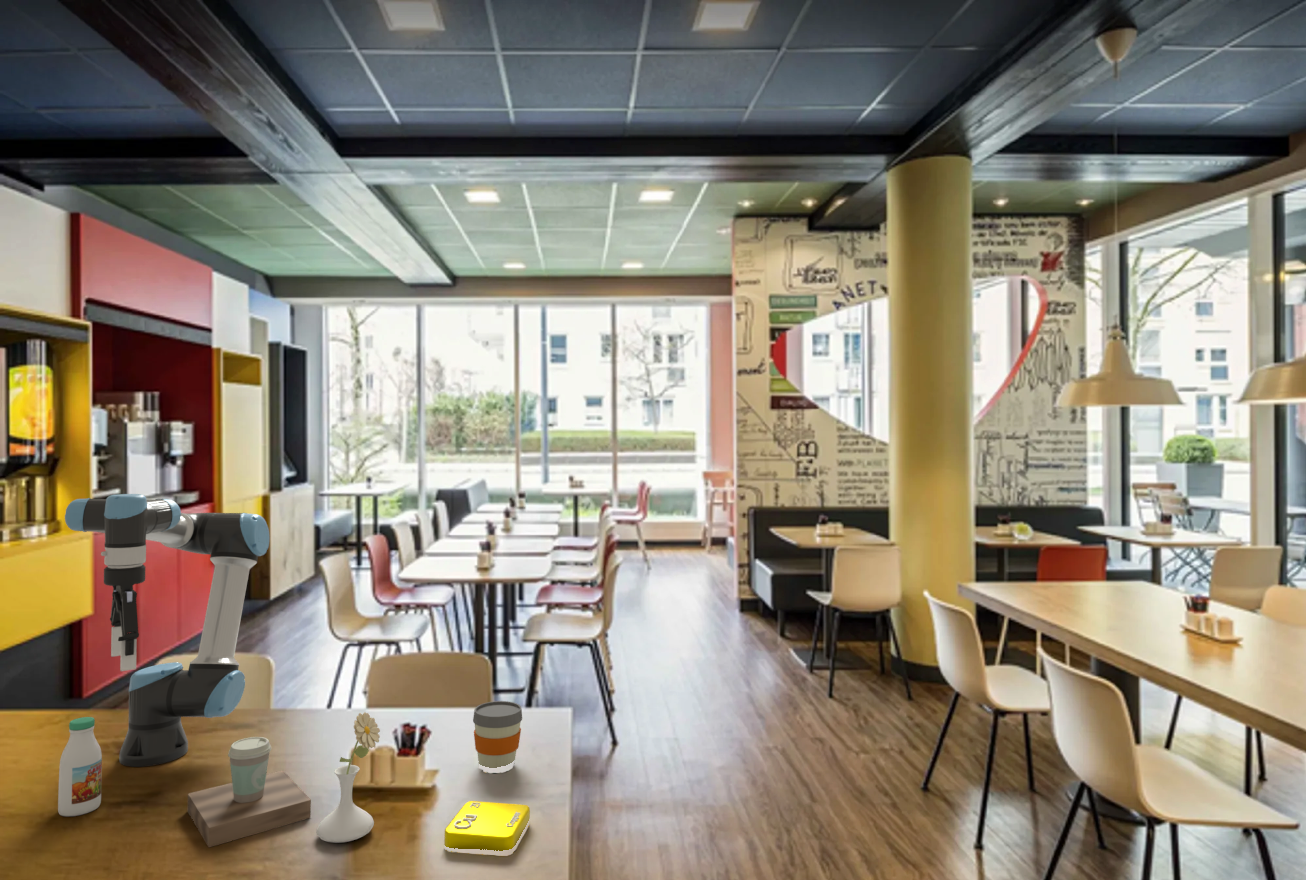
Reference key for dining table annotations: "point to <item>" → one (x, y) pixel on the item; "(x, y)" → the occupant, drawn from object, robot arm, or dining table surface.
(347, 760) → the flower in vase
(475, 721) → the reusable coffee cup
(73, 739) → the milk bottle
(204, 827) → the walnut base
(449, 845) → the element tile
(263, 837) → the dining table surface
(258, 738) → the coffee cup
